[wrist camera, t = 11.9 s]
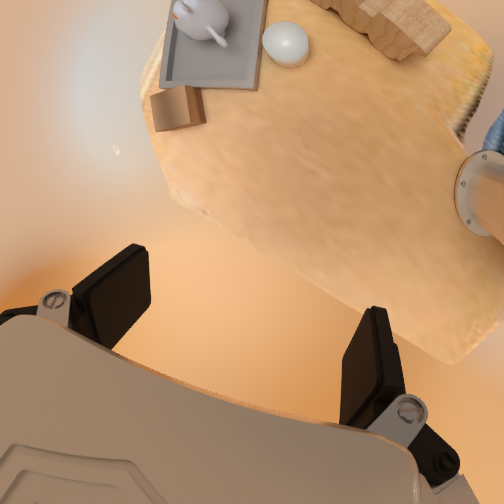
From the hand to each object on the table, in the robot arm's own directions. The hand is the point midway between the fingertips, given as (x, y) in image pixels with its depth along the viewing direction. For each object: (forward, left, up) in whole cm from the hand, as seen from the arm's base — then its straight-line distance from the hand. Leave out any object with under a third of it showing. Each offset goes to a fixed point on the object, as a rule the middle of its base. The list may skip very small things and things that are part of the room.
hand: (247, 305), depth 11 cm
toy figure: (+13, -20, -27) cm, 36 cm away
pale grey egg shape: (+3, -17, -27) cm, 32 cm away
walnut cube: (+16, -8, -27) cm, 33 cm away
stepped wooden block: (-6, -24, -28) cm, 37 cm away
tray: (+13, -20, -27) cm, 36 cm away
